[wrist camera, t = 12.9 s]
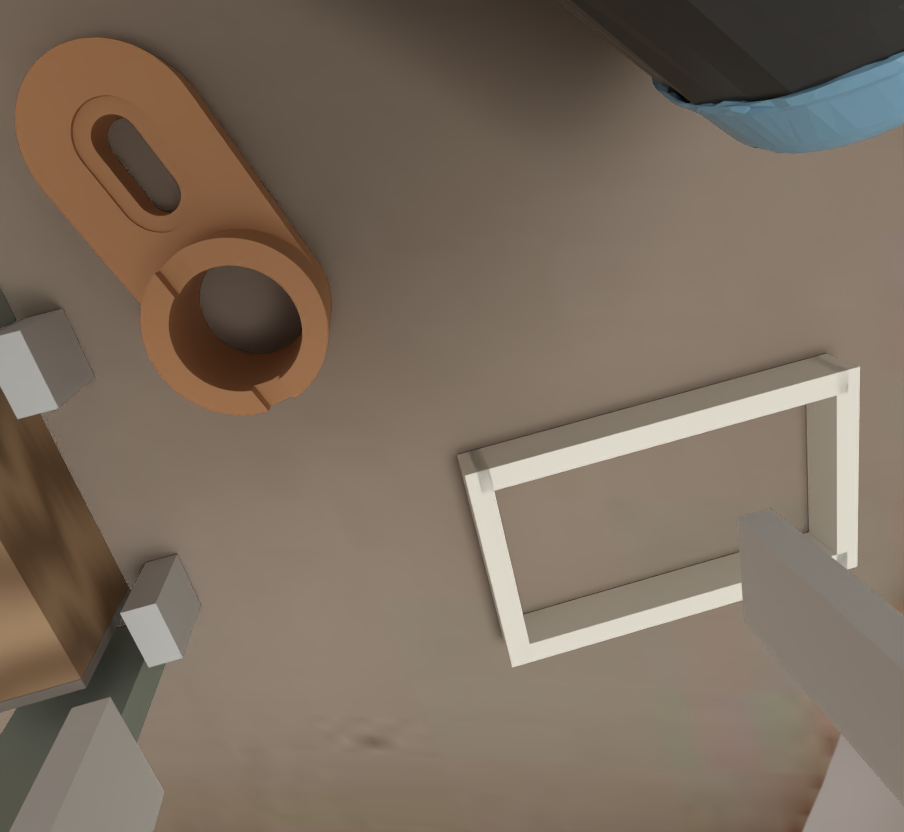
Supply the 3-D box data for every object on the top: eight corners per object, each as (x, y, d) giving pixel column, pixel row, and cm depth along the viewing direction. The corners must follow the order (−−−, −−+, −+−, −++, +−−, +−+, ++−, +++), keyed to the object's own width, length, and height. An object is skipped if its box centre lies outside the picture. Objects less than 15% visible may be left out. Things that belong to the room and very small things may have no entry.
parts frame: (456, 454, 42) (464, 475, 39) (826, 353, 43) (859, 366, 40) (502, 637, 47) (512, 667, 45) (828, 543, 49) (857, 566, 46)
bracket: (360, 320, 38) (363, 352, 32) (243, 399, 39) (222, 446, 32) (140, 10, 31) (86, -30, 25) (2, 111, 32) (-85, 99, 25)
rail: (-72, 382, 36) (-183, 439, 28) (12, 360, 36) (-76, 412, 28) (61, 614, 42) (-1, 712, 34) (132, 594, 42) (86, 688, 34)
